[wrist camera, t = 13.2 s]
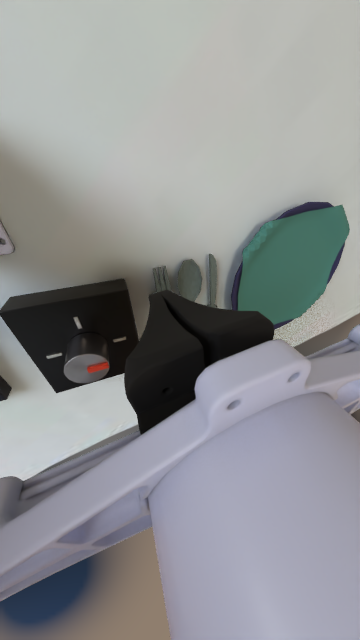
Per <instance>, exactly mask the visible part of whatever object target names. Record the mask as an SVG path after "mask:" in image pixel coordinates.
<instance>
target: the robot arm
mask: <svg viewBox="0 0 360 640" xmlns="http://www.w3.org/2000/svg"><path fill="white" fill-rule="evenodd" d="M0 238H2V239H4V240H5V241H6V244H3V243H1V242H0V255H4V254H10V253H12V252H13V251H14V246H13V244H12V242H11V241H10V239H9V237H8V235H7V233H6V231H5V229H4V227H3V225H2V224H1V222H0ZM149 301H150V311H149V317H148V321H147V325H146V328H145V330H144V333H143V335H142V337H141V339H140V341H139V342H138V344H137V346H136V347H135V349H134V350H133V351H132V353H131V354H130V355H129V356H128V357H127V359H126V365H125V375H124V383H125V391H126V395H127V399H128V400H129V402H130V404H131V405H132V407H133V409H134V410H135V412H136V414H137V418H138V424H139V431H136V432H134V433H132V434H129V435H127V436H125V437H123V438H120V439H118V440H116V441H113V442H111V443H109V444H107V445H105V446H102V447H100V448H98V449H95V450H93V451H91V452H89V453H86V454H84V455H82V456H79V457H77V458H75V459H73V460H70V461H68V462H66V463H64V464H61V465H59V466H57V467H55V468H52V469H50V470H48V471H45V472H43V473H41V474H39V475H36V476H34V477H32V478H30V479H27V480H25V481H22V480H21V479H19V478H17V477H13V476H9V477H3V478H0V601H2V600H4V599H5V598H7V597H9V596H11V595H13V594H15V593H17V592H19V591H21V590H22V589H24V588H26V587H28V586H30V585H32V584H34V583H36V582H38V581H40V580H42V579H44V578H46V577H48V576H50V575H52V574H54V573H56V572H58V571H60V570H62V569H64V568H66V567H68V566H70V565H73V564H74V563H77V562H79V561H81V560H83V559H85V558H87V557H89V556H91V555H93V554H96V553H98V552H100V551H102V550H104V549H106V548H108V547H110V546H112V545H114V544H117V543H119V542H121V541H123V540H125V539H127V538H129V537H132V536H134V535H136V534H138V533H140V532H142V531H144V530H146V529H148V528H150V527H153V531H154V532H153V533H154V539H155V545H156V551H157V557H158V563H159V569H160V575H161V581H162V587H163V593H164V600H165V606H166V612H167V618H168V624H169V630H170V636H171V640H360V423H359V422H358V421H356V420H355V419H354V418H353V417H352V416H351V415H350V414H351V413H353V412H355V411H356V410H358V409H359V408H360V324H359V325H357V326H355V327H354V328H353V329H352V330H351V331H350V333H349V335H348V338H347V339H345V340H342V341H340V342H338V343H336V344H333V345H331V346H329V347H327V348H324V349H322V350H320V351H318V352H315V353H313V354H311V355H308V356H306V357H304V356H303V355H302V354H300V353H299V352H298V351H297V350H295V349H294V348H293V347H292V346H291V345H289V344H288V343H287V342H285V341H284V340H282V339H276V340H273V336H274V325H273V323H272V322H271V321H270V320H269V319H268V318H266V317H265V316H264V315H263V314H261V313H260V312H258V311H236V310H225V309H219V308H213V307H209V306H205V305H201V304H198V303H195V302H193V301H190V300H188V299H185V298H183V297H181V296H179V295H177V294H175V293H173V292H171V291H169V290H164V291H161V292H158V293H154V294H151V295H149Z"/></svg>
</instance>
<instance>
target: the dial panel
mask: <svg viewBox="0 0 360 640" xmlns="http://www.w3.org/2000/svg"><path fill="white" fill-rule="evenodd" d="M0 316H1V317H2V319H3V320H4V321H5V323H6V324H7V326H8V327H9V328H10V330H11V331H12V332H13V334H14V335H15V337H16V338H17V339H18V341H19V342H20V344H21V345H22V346H23V348H24V349H25V350H26V352H27V353H28V355H29V356H30V357H31V359H32V360H33V361H34V363H35V364H36V366H37V367H38V368H39V370H40V371H41V373H42V374H43V375H44V377H45V378H46V379H47V381H48V382H49V384H50V385H51V386H52V388H53V389H54V390H55V392H56V393H59V392H62V391H66V390H69V389H72V388H76V387H79V386H82V385H86V384H89V383H76V382H73V381H71V380H69V379H68V378H67V377H66V376H65V374H64V365H65V360H66V354H67V348H68V344H69V342H70V340H71V339H72V338H74V337H75V336H77V335H79V334H82V333H95V334H98V335H101V336H102V337H103V338H105V340H106V341H107V344H108V355H109V371H108V372H107V374H106V375H105V376H104V377H103V378H101V379H99V380H103V379H106V378H109V377H113V376H116V375H120V374H123V373H125V365H126V359H127V357H128V356H129V355H130V354H131V353H132V351H133V350H134V349H135V347H136V346H137V344H138V342H139V339H138V335H137V330H136V325H135V320H134V316H133V311H132V306H131V301H130V297H129V292H128V288H127V285H126V282H125V279H119V280H113V281H107V282H100V283H94V284H88V285H82V286H76V287H70V288H63V289H57V290H51V291H45V292H39V293H33V294H26V295H20V296H14V297H10V298H9V299H8V301H7V302H6V303H5V304H4V306H3V307H2V308H1V310H0ZM99 380H97V381H99ZM95 382H96V381H95ZM91 383H93V382H91Z"/></svg>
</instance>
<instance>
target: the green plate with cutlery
mask: <svg viewBox="0 0 360 640" xmlns="http://www.w3.org/2000/svg"><path fill="white" fill-rule="evenodd" d="M349 230H350V229H349V224H348V220H347V217H346V214H345V211H344V208H343V206H342V205H339V206H335V207H334V206H332V205H331V204H330V203H328V202H307V203H305V204H303V205H300V206H298V207H295V208H293V209H291V210H288V211H286V212H285V213H284V214H282V215H281V216H280V217H279V218H277V219H276V220H273V221H270V222H267V223H265V224H264V225H263V226H262V227H261V228H260V231H259V232H258V233H257V234H256V235H255V237H254V239H253V240H252V241H251V242H250V243H249V245H248V246H247V247H246V248H245V249H244V250H243V261H242V263H241V265H240V267H239V269H238V271H237V273H236V276H235V280H234V285H233V290H232V294H231V300H232V310H236V311H258V312H260V313H261V314H263V315H264V316H265V317H266V318H268V319H269V320H270V321H271V322H272V323H273V325H274V329H277V328H279V327H281V326H283V325H285V324H287V323H289V322H291V321H292V320H293V319H295V318H298V317H300V316H302V314H303V313H305V312H306V310H307V309H308V308H310V307H311V305H312V304H314V303H315V301H316V300H318V299H319V297H320V296H321V295H322V294H323V293H324V291H325V289H326V286H327V284H328V283H329V281H330V279H331V277H332V276H333V274H334V272H335V270H336V268H337V266H338V264H339V261H340V258H341V255H342V251H343V248H344V245H345V240H346V238H347V236H348V234H349ZM163 267H164V277H165V283H164V279H163V276H162V271H161V267H158V269H159V277H160V284H161V287H160V284H159V280H158V277H157V273H156V269H155V268H153V271H154V278H155V284H156V291H157V293H158V292H161V291H164V290H169V291H171V287H170V283H169V279H168V275H167V270H166V266H163ZM209 277H210V304H209V305H207V306H209V307H213V308H216V307H217V306H216V305H215V297H216V282H217V271H216V260H215V258H214V256H213V255H212V254H209ZM201 283H202V277H201V273H200V269H199V267H198V265H197V264H196V263H195V262H194V261H193V260H192V259H190V260H186V261H184V262H183V264H182V266H181V268H180V270H179V272H178V284H177V287H178V289H179V292H180V295H181V297H183V298H185V299H188V300H190V301H193V302H194V301H195V300H196V298H197V296H198V295H199V293H200V290H201ZM165 285H166V287H165ZM171 292H172V291H171Z"/></svg>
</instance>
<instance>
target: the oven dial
mask: <svg viewBox="0 0 360 640" xmlns="http://www.w3.org/2000/svg"><path fill="white" fill-rule="evenodd" d="M108 371H109V355H108V344H107V341H106V340H105V338H103V337H102V336H101V335H98V334H95V333H82V334H79V335H77V336H75V337H74V338H72V339H71V340H70V342H69V344H68V348H67V354H66V360H65V365H64V374H65V376H66V377H67V378H68V379H69V380H71V381H73V382H76V383H91V382H95V381H97V380H99V379H101V378H103V377H104V376H105V375H106V374H107V372H108Z"/></svg>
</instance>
